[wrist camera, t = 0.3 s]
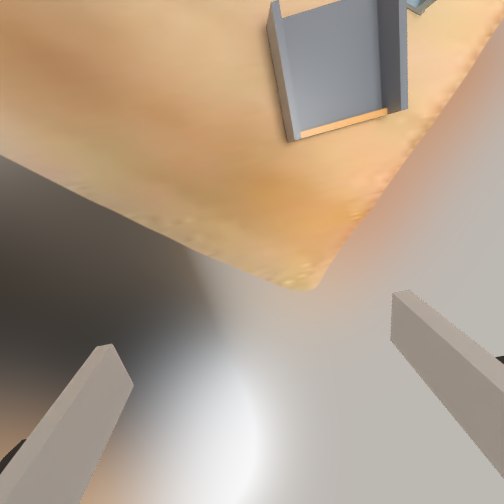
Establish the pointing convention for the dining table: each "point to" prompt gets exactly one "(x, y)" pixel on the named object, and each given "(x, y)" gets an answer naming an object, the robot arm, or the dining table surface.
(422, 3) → the clip
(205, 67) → the dining table surface
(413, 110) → the dining table surface
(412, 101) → the dining table surface
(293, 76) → the end holder
